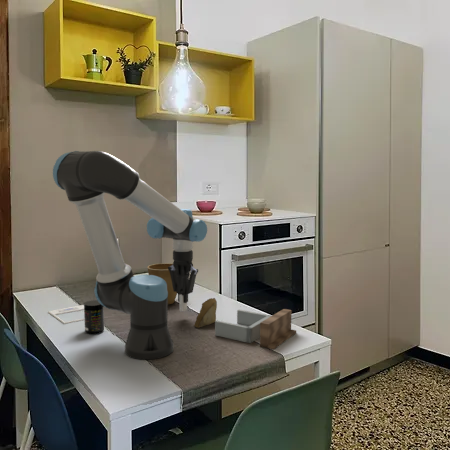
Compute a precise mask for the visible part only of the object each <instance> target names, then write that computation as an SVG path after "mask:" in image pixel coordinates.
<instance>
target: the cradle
mask: <svg viewBox="0 0 450 450" xmlns="http://www.w3.org/2000/svg"><path fill="white" fill-rule="evenodd" d="M236 312H237V313H236V316H237V317H236V323H237V324H236V323H231V322H227V321H222V320H217V319H216V321H215V322H214V336H217V337H221V338H225V339H229V340H235V341H239V342H242V343H243V342H244V343H249V344H252V343H253V342H255V341H256V340H258V339H260V323H261V322H262V321H264V320H266V319H267V318H269V317H271V316H272V315H270V314H266V313H260V312H254V311H249V310H243V309H237V311H236Z"/></svg>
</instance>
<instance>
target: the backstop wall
mask: <svg viewBox="0 0 450 450" xmlns="http://www.w3.org/2000/svg"><path fill="white" fill-rule="evenodd" d="M292 313H293V310H291V309H287V308H283V309H281V310H280V311H277V312H276V313H274V314H272V315H271V317H269V318H267V319H266V320H264V321H262V322H261V323H260V337H259V347H260V348H265V349H269V350H270V349H271V350H275V349H276V348H278V347H280V346H281V345H282V344H283V343H285V342H286V341H288V340H289V339H291V338H292V337H294V335H296V334H297V330H295V329H292Z"/></svg>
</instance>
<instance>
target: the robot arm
mask: <svg viewBox="0 0 450 450" xmlns="http://www.w3.org/2000/svg"><path fill="white" fill-rule="evenodd" d="M52 178H53V181H54V183H55V184H56V185H57V187H58V188H60V189H61V190H63V191H65V195H66V196H67V200H68V201H69V202H70V203H72V204H74V205H75V206H76V209H77V212H78V215H79V219H80V220H81V224H82V227H83V230H84V232H85V235H86V238H87V241H88V244H89V247H90V250H91V253H92V256H93V259H94V262H95V265H96V267H97V271H98V273H97V275H96V277H95V278H96V282H95V286H94V290H93V291H94V296H95V298H96V299H95V300H97V301H98V302H99V303H100V304H101V305H103V306H104V307H105V308H106V309H108V310H112V311H117V312H121V313H123V314H127V315H129V316H130V317H129V321H130V325H129V331H128V334H127V338H126V342H125V345H124V352H125V353H124V354H125V355H126V356H128V357H130V358H132V359H136V360H155V359H156V360H157V359H161V358H165V357H166V356H169V355H171V353H173V352H174V341H173V339H172V336H171V333H170V330H169V325H168V324H169V322H168V315H169V314H168V312H169V311H168V308H169V306H168V291H167V284H166V282H165V280H164V279H162V278H160V277H158V276H154V275H149V274H137V275H134V272H133V268H132V267H131V265H129V264H127V263H125V262H126V261H124V256H123V254H122V251H121V248H120V245H119V241H118V238H117V237H118V236H117V235H116V232H115V228H114V225H113V223H112V220H111V216H110V214H109V213H110V212H109V210H108V207H107V203H106V200H105V195H106V194H108V195H111V196H113V197H114V198H116V199H118V200H121V201H122V200H124V201H127V202H129V203H130V204H131V205H132V206H134V207H136V208H137V209H138V210H140V211H142V212H143V213H145V214H146V215H148V216H149V217H151V218H150V219H149V220H148V221H147V224H146V232H147V234H148V235H149V237H150V238H152V239H162V238H163V239H165V238H166V239H172V250H173V251H172V260H173V262H172V264H173V265H172V266H170V267H168V270H169V272H170V275H171V281H172V286H173V291H174V292H177V301H178V305H179V312H186V311H187V310H188V309H187V308H188V302H189V294H193V292H194V287H195V283H196V282H195V281H196V276H197V274H198V273H199V269H198V268H195V267H194V264H193V257H194V251H193V249H194V246H193V244H194V242H196V243H197V242H198V243H200V242H202V241H203V240H204V239H206V237H207V234H208V226H207V223H206V222H205V221H204V220H202V219H199V218H193V217H194V216H193V210H192V209H189V208H179V207H178V206H176V205H175V203H173V202H171V201H170V200H168V199H167V198H166V197H165V196H164V195H162V194H161V193H160V192H158V191H156V190H155V189H154V188H153V187H151V186H150V185H149V184H148V183H146V181H144V180H142V179H141V178H140V174H139V172H137V171H136V170H135V169H134V168H132V167H130V165H128V164H126V163H125V162H124V161H122V159H119V158H117V157H116V156H114V155H112V154H110V153H108V152H105V151H101V150H91V151H89V150H87V151H85V150H84V151H81V150H80V151H79V150H74V151H69V152H65V153H63V154H62V155H60V156H59V157H58V158H57V159H56V160H55V162H54V165H53V168H52Z"/></svg>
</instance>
